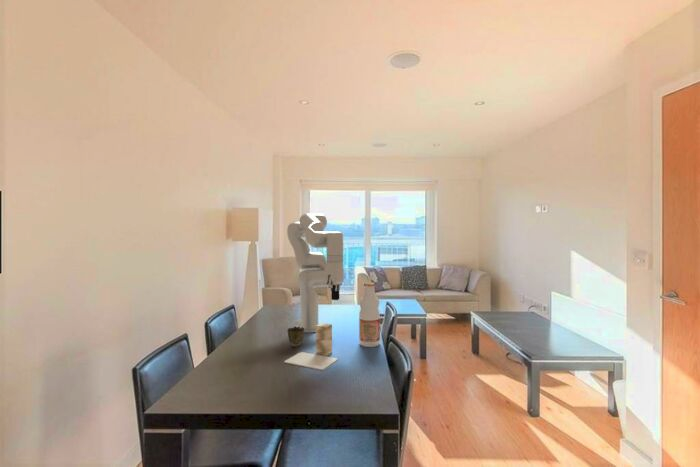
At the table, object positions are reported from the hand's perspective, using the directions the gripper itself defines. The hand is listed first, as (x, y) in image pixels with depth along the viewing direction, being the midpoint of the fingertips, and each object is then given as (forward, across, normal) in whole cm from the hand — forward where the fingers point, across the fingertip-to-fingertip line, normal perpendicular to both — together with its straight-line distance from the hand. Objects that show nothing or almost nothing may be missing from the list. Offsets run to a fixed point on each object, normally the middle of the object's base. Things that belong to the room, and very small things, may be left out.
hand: (335, 299), depth 154 cm
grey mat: (+21, +20, 0) cm, 29 cm away
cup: (+21, +8, -16) cm, 28 cm away
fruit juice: (+21, -9, +13) cm, 26 cm away
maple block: (+21, +10, 0) cm, 23 cm away
